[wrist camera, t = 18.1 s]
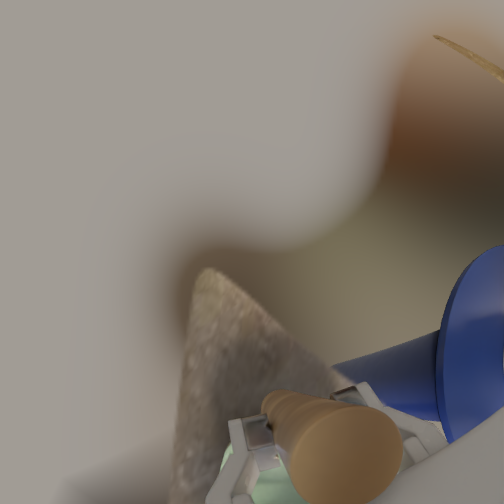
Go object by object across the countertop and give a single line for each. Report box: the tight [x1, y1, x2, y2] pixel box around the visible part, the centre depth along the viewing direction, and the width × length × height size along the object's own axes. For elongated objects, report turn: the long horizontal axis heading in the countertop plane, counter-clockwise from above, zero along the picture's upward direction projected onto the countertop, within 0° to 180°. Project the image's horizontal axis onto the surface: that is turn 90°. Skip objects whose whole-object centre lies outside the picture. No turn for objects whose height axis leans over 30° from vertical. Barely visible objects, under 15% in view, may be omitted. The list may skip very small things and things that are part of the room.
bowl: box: [220, 413, 309, 504], centre depth 25 cm, size 13×13×4 cm
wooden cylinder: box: [261, 389, 403, 504], centre depth 12 cm, size 3×3×14 cm
